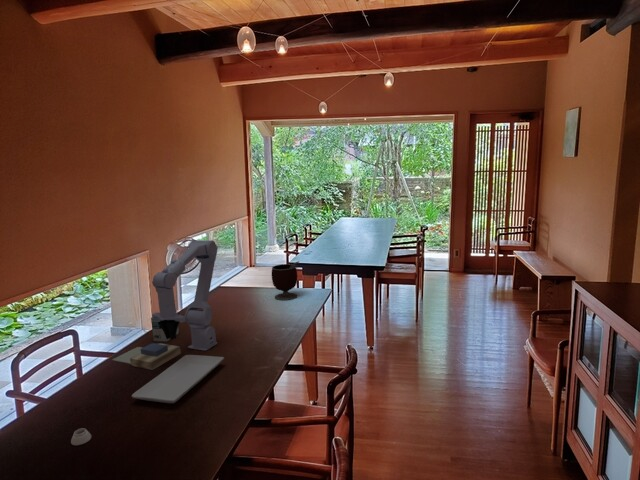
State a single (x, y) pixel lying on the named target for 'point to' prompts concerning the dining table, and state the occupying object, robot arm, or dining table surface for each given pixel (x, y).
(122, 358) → the mat
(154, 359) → the deck
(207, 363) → the tray
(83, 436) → the lidless jar
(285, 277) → the mate gourd
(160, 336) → the light bulb box
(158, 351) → the blue-grey flat block
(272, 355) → the dining table surface
